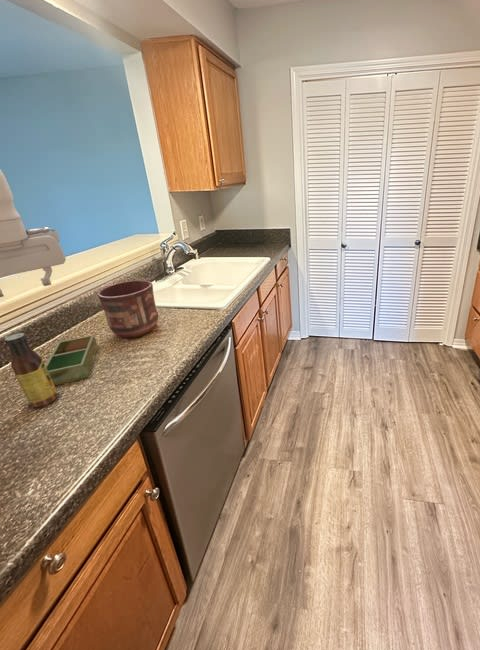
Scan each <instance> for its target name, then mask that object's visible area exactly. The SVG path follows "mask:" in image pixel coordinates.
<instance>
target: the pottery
mask: <svg viewBox="0 0 480 650" xmlns="http://www.w3.org/2000/svg"><path fill="white" fill-rule="evenodd" d="M97 296H98V299H99V301H100V305H101V306H102V309H103V312H104V314H105V317H106V321H107V324H108V327H109V329H110V331H111V332H112V333H113V334H114V335H115V336H117V337H119V338H121V339H124V340H135V339H139V338H142V337H145V336H148V335H149V334H150V333H151V332H153V331H154V329H155V328H156V327H157V325H158V322H159V317H160V316H159V311H158V308H157V305H156V299H155V295H154V285H153V283H152V281H149V280H145V279H135V280H127V281H121V282H117V283H113V284H111V285H108V286H106V287H104V288H102V289H100V290H99V291H98V293H97Z"/></svg>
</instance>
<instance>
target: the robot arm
mask: <svg viewBox="0 0 480 650" xmlns="http://www.w3.org/2000/svg"><path fill="white" fill-rule="evenodd" d="M14 199H15V198H14V196H13V193H12V190H11V187H10V185H9V183H8V180H7V179H6V176H5V174H4V172H3V171H2V169H1V168H0V278H3V277H9V276H13V275H17V274H22V273H27V272H32V271H37V270H40V269H42V271H44V272H45V274H44V277H42V278H40V281H41V284H42V286H43V287H47V286H48V287H49V286H52V281H51V276H52V273H53V268H52V267H56V266H59V265H63V264H65V263H66V260H67V258H66V255H65V253H64V251H63V249H62V247H61V245H60V237H59V234H58V232H57V231H56V230H55V229H53V228H49V227H48V226H47V227H41V228H29V229H26V227H25V224H24V222H23V219H22V217H21V215H20V213H19V212H18V210H17V208H16V207H15V202H14V201H15V200H14ZM3 297H5V296H4V293H3V291H2V288H0V298H3Z"/></svg>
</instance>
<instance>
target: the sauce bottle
mask: <svg viewBox="0 0 480 650" xmlns="http://www.w3.org/2000/svg"><path fill="white" fill-rule="evenodd" d="M27 339H28V338H27V336H26V334H25V333H24V332H18V333H14V334H11V335H8V336H6V337H5V338H4V343H5V344H6V346H7V347H8V348H9V351H10V354H11V355H12V357H11V361H10V366H11V369H12V371H13V372H14V376H15V378H16V379H17V382H18V384H19V385H20V387H21V390H22V392H23V393H24V396H25V398H26V399H27V402H28V403H29V404H30V406H31V407H32V408H42V407H44V406H47V405H49V404H51V403H53V402H54V401H55V400H56V399H57V398H58V393H57V389H56V385H55V386H54V384H53V382H52V380H51V377H50V375H49V373H48V370H47V368H46V366H45V365H46V363H45V362H44V359H43V357H42V356H40V355H39V354H38V353H37V352H36V351H35V350H33V348H32V347H31V346H30V344H29V342H28V340H27Z"/></svg>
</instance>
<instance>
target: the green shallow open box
mask: <svg viewBox="0 0 480 650" xmlns="http://www.w3.org/2000/svg"><path fill="white" fill-rule="evenodd" d="M98 347H99V345H98V342H97V340H96V336H95V334H91V335H86V336H81V337H76V338H71V339H67V340H66V339H65V340H62V341H58V342H57V344H56V346H55V347H54V348H53V350H52V352H51V354H50V356H49V358H48V359H47V360H46V362H45V366H46V368H47V370H48V373H49V375H50V377H51V380H52V382H53V384H54V386H55V387H56V386H59V385H64V384H69V383H71V382H72V383H73V382H77V381H81V380H85V379H88V378H89V376H90V373H91V370H92V367H93V363H94V361H95V358H96V354H97V351H98Z"/></svg>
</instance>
